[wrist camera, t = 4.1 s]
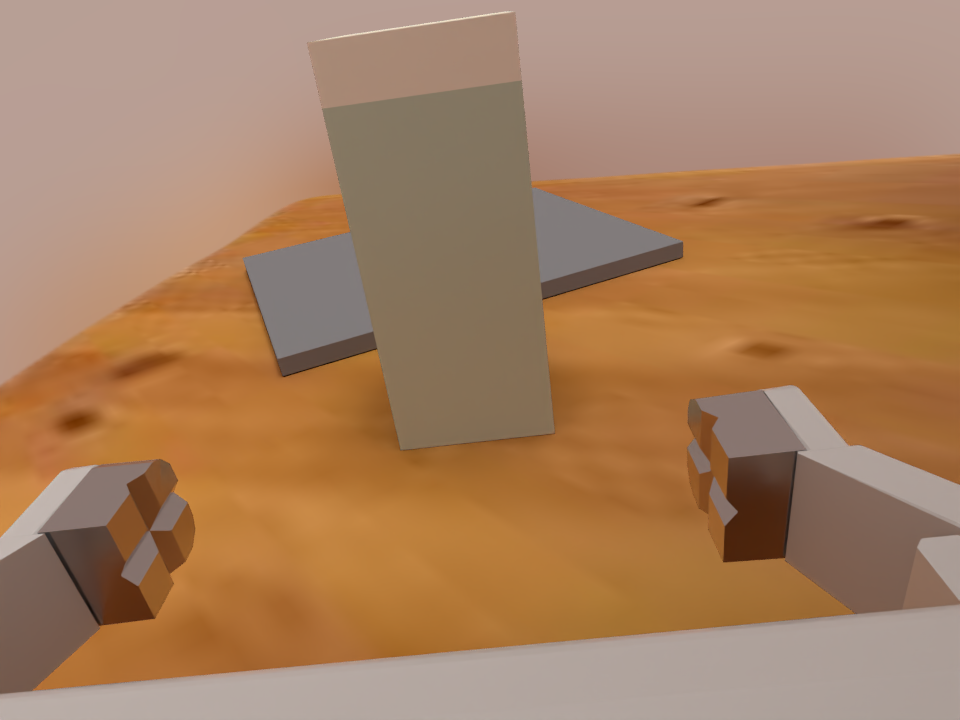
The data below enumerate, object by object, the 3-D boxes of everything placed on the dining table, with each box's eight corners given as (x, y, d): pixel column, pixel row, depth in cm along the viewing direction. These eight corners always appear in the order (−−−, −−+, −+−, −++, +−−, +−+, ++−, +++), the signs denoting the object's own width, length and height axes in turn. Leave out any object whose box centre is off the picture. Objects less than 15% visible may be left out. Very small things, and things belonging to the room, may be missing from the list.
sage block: (541, 359, 25) (507, 11, 20) (554, 433, 21) (514, 11, 15) (413, 374, 26) (344, 35, 20) (400, 450, 21) (307, 42, 16)
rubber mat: (535, 198, 46) (534, 187, 46) (682, 256, 33) (683, 241, 32) (246, 270, 40) (242, 258, 40) (282, 376, 27) (277, 359, 27)
